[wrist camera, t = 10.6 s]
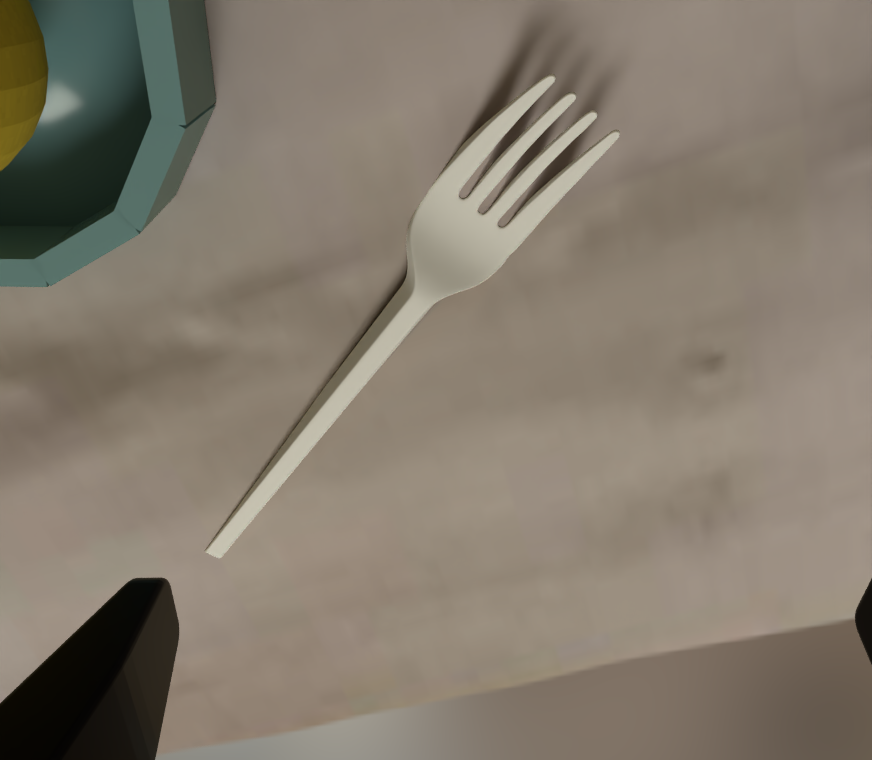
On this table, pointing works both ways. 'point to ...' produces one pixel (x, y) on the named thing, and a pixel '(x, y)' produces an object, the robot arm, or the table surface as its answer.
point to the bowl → (104, 132)
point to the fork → (438, 266)
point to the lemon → (20, 77)
